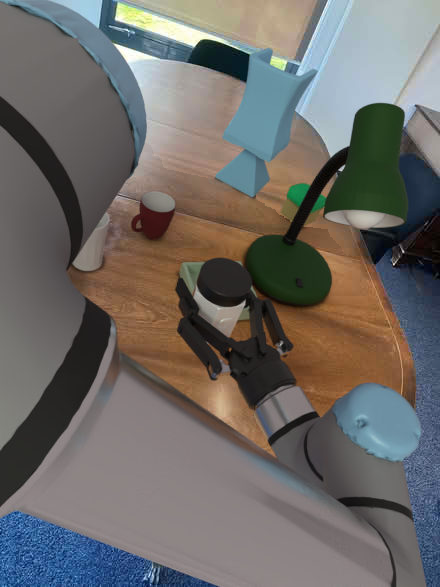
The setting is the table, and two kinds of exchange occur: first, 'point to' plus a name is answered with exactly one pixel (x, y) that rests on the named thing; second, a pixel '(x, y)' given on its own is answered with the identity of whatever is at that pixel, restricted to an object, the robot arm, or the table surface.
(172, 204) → the mug
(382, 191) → the desk lamp
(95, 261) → the cup
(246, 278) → the jar
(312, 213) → the cake
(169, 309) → the table surface
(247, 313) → the tray
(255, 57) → the planter
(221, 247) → the table surface
